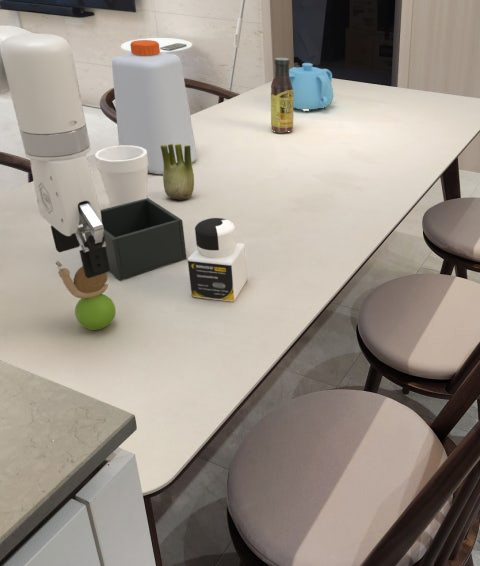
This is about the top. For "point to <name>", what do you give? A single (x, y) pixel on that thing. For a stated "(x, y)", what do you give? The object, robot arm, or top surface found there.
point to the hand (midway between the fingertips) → (82, 261)
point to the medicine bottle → (217, 261)
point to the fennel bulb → (177, 172)
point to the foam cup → (123, 173)
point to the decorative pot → (311, 87)
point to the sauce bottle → (281, 97)
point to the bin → (141, 238)
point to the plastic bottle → (152, 102)
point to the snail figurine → (89, 298)
